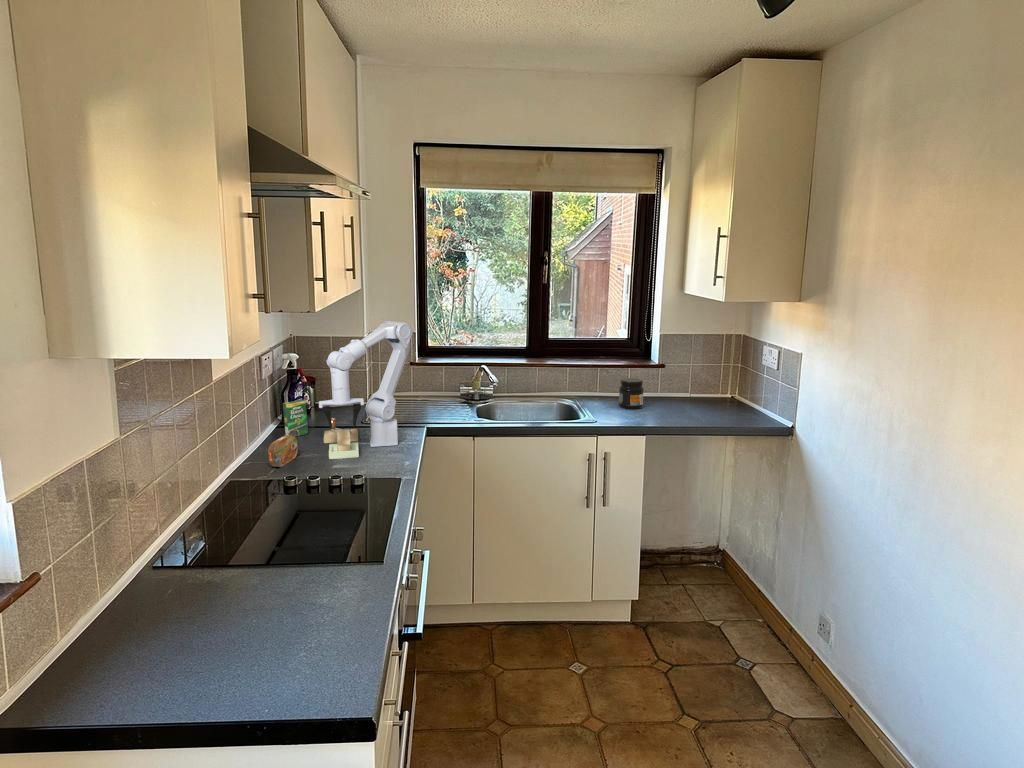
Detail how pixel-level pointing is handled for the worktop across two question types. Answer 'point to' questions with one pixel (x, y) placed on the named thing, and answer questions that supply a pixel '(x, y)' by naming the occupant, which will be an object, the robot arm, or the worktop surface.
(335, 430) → the crank
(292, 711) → the worktop surface
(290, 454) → the tin
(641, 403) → the supplement container
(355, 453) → the tray
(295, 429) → the green cardboard box
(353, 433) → the crank base
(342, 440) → the block
